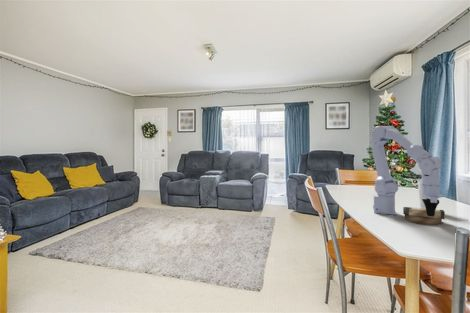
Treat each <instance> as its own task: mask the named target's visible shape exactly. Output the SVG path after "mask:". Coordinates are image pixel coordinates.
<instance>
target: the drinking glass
mask: <svg viewBox="0 0 470 313" xmlns="http://www.w3.org/2000/svg"><path fill="white" fill-rule="evenodd" d="M417 190H418V201H419V208H423V209H426V208H425V205H424V202H423V201H422V199H427V198H425V197H422V196H421V194H422V180H419V181H418V183H417Z"/></svg>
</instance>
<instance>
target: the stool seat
mask: <svg viewBox="0 0 470 313" xmlns="http://www.w3.org/2000/svg"><path fill="white" fill-rule="evenodd" d="M404 220H405V221H407V222H411V223H413V224H418V225H424V226H425V225H426V226H438V225H440V226H441V225H442V223H443V222H442V221H443V219H440V218H430V217H421V216H411V215H405V214H404Z"/></svg>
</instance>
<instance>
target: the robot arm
mask: <svg viewBox="0 0 470 313" xmlns="http://www.w3.org/2000/svg"><path fill="white" fill-rule="evenodd" d="M370 133H371V139H370V147H371V152H372V156H373V161H374V165H375V169H376V170H375V171H376V175H377V177H376V179H375V180H374V183H375V185H374V191H375V193H376V194H373V205H372V210H373V213H375V214H381V215H382V214H383V215H394V216H395V215H396V216H397V215H398V213H397V212H396V193H397V192H398V191H399V185H398V184H397V183H396V180H395V178H394V177H393V176H391V173H390V169H389V163H388V160H387V155H386V150H385V146H384V145H386V143H387V142H388V141H389V140H393V141H394V142H396V143H397V144H398V145H399V146H401V147H402V148H403V149H405V150H406V154H407V155H408V157H410V158H412V160H414V161H415V162H416V163H418V167H419V169H420V170H421V181H422V194H421V196H422V197H425V198H427V199H422V201H423V202H424V205H425V208H426V213H427V215H428V216H433V217H434V215H435V210H437V207H438V205H439V204H440V199H439V198H443V197H444V196H443V195H442V194H440V168H442V166H443V162H442V160H441V159H440V157H438V156H433V154H432V153H429V152H428V151H427V150H425V149H424V146H423V145H419V144H413V142H411V140H409V139H407V137H406V136H404V134H402V133H401V132H400V131H399V129H397V128H395V127H394V126H393V125H376V126H375V127H374V128H373V129H372V130H371V131H370Z"/></svg>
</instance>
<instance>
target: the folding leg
mask: <svg viewBox="0 0 470 313" xmlns="http://www.w3.org/2000/svg"><path fill="white" fill-rule="evenodd" d="M402 212H403V213H402V214H403V215H404V216H405V215H411V216H421V217H430V218H440V219H442V220H446V217H445V216H446V214H445V211H444V209H436V210H435V215H434V217H433V216H428V215H427V213H426V209H423V208H420V207H410V206H409V207H408V206H404V207H403V211H402Z"/></svg>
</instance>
